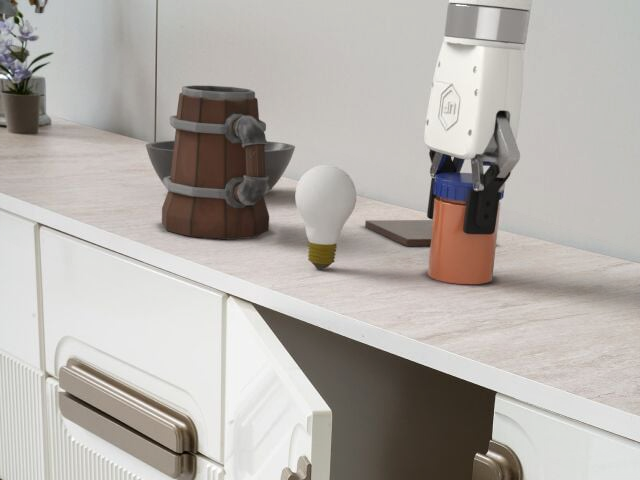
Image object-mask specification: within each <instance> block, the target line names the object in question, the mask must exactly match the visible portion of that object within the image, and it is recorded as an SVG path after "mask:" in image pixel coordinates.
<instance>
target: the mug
mask: <svg viewBox="0 0 640 480" xmlns="http://www.w3.org/2000/svg"><path fill="white" fill-rule="evenodd" d="M258 100H259V99H258V98H257V97H256V92H255V91H254V90H252V89H249V88H244V87H236V86H223V85H194V84H193V85H185V86H182V87H181V92H180V93H179V94H178V101H177V108H176V109H177V110H176V115H171V116H170V117H169V125H170V126H171V127H172V128H173V129H174V130H175V133H174V140H175V141H174V140H173V141H174V149H173V158H172V166H171V175H170V176H168V177H164V179H163V183H162V185H163V186H164V188H166V190H167V193H166V196H165V199H164V202H163V204H162V207H161V224H162V225H163V227H164V229H165V230H166V232H167V231H168V232H171V233H174V234H178V235H183V236H187V237H191V238H200V239H201V238H203V239H215V240H217V239H218V240H233V239H235V240H236V239H247V238H248V239H249V238H255V237H257V236H260V235H263V234H265V233H267V232H269V230H270V212H269V210H268V206H267V204H266V200H265V195H264V194H266V195H267V194H269V193H270V191H269V185H268V184H267V182H268V180H269V177H268V176H267V175H265V149H264V146H266V145H267V141H268V140H267V138H266V137H267V136H266V133H265V132H266V131H267V124H266V122H265V121H263V120H261V119H260V115H259V113H260V111H259V101H258Z"/></svg>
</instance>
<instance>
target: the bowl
mask: <svg viewBox="0 0 640 480" xmlns="http://www.w3.org/2000/svg"><path fill="white" fill-rule="evenodd" d="M174 141H175V139H173V140H162V141H154V142H153V141H152V142H149V143H146V144H145V148H146V151H147V155H148V158H149V160H150V163H151V165H152V167H153V169H154V171H155V173H156V175H157V176H158V178H159V180H160V181H161V183H162V184H163V179H164V177H168V176H170V175H171V166H172V158H173V149H174ZM266 141H267V145H266V146H264V149H265V175H267V176H268V177H269V180H268V182H267V184H268V185H269V192H271V190H272V189H273V188H274V187H275V185H277V183H278V182H279V181H280V180H281V178H282V176H283V175H284V173H285V172H286V170H287V168H288V166H289V164H290V162H291V160H292V157H293V155H294V152H295V150H296V146H295V145H293V144H289V143H285V142H279V141H278V142H277V141H268V140H266ZM266 195H267V194H264V195H263V196H266Z"/></svg>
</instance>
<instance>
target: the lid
mask: <svg viewBox="0 0 640 480" xmlns="http://www.w3.org/2000/svg"><path fill="white" fill-rule="evenodd" d="M434 178H435V180H434V188H433V193H434V195H436V196H438V197H441V198H445V199H451V200H458V201H467V196H468V190H474V189H473V180H472V172H460V173H441V174H437V175H436V176H435V177H434ZM504 195H505V190H504V191H503V192H500V198H499V201H501V200H503V199H504Z"/></svg>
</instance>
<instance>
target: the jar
mask: <svg viewBox="0 0 640 480" xmlns="http://www.w3.org/2000/svg"><path fill="white" fill-rule="evenodd" d="M466 203H467V201H458V200H451V199H445V198H441V197H438V196H437V197H435V199H434V210H433V222H432V233H431V245H430V246H429V256H428V257H429V259H428V268H427V275H428V277H429V278H431V279H433V280H436V281H439V282H443V283H448V284H449V283H450V284H456V285H457V284H458V285H480V284H481V285H482V284H486V283H490V282H492V281H493V275H494V268H495V260H496V259H495V258H496V248H497V242H498V241H497V239H498V232H499V221H500V211H501V202H500V201H499V205H498V212H497V219H496V226H495V231H494V233H493V234H467V233H465V232H464V231H463V225H464V218H465V211H466Z"/></svg>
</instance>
